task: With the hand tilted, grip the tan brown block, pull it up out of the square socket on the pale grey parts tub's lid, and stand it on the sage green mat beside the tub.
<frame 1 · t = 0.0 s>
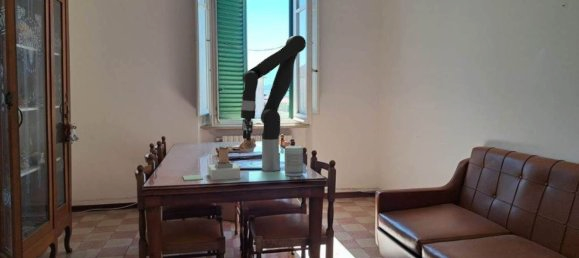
hand: (246, 139, 226), 17 cm above the table, tool pointing down, fingers open, 8 cm apart
sage mat: (192, 178, 211), on the table
supplement tub: (293, 175, 220), on the table
parts tub: (224, 176, 216), on the table
tan brown block: (223, 166, 215), point 5 cm above the table, touching parts tub
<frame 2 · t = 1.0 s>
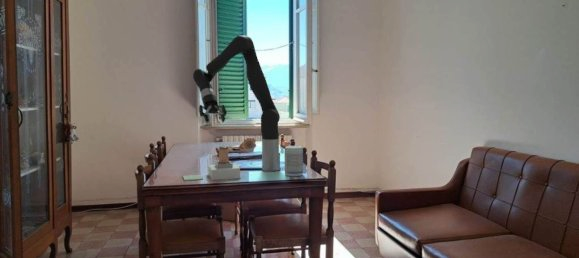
hand: (215, 121, 223), 27 cm above the table, tool tilted 45°, fingers open, 8 cm apart
nothing on the table moved.
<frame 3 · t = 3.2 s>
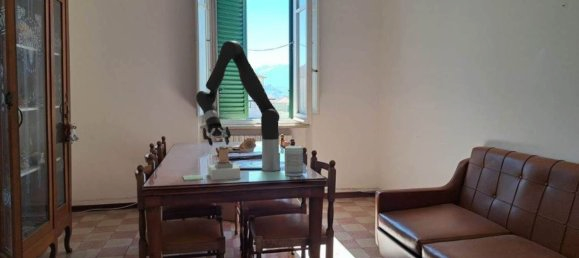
hand: (219, 144, 219), 16 cm above the table, tool tilted 45°, fingers open, 8 cm apart
nothing on the table moved.
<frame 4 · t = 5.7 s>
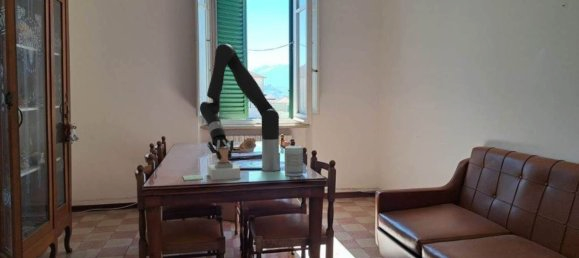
hand: (225, 158, 213), 10 cm above the table, tool tilted 45°, fingers closed on tan brown block, 4 cm apart
tan brown block: (223, 166, 215), point 5 cm above the table, touching gripper, parts tub
everything else where it was.
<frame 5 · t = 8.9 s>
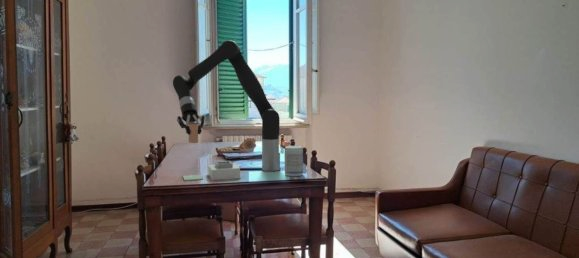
hand: (194, 133, 207), 23 cm above the table, tool tilted 45°, fingers closed on tan brown block, 4 cm apart
tan brown block: (193, 142, 209), point 18 cm above the table, touching gripper
everything else where it was.
when the fingers open (7 cm above the table, at t = 12.4 s): tan brown block drops 1 cm, resting on sage mat.
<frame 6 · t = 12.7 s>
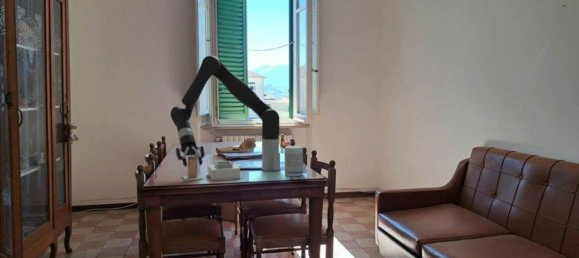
hand: (193, 164, 209), 7 cm above the table, tool tilted 45°, fingers open, 6 cm apart
tan brown block: (192, 176, 211), point 1 cm above the table, touching sage mat
everything else where it was.
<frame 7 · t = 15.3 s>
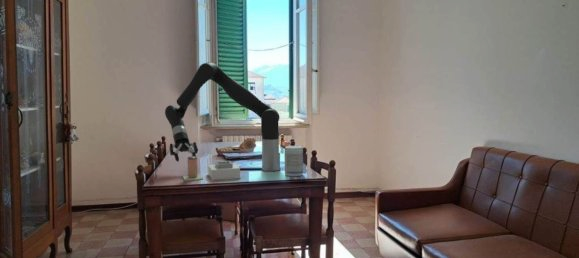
hand: (186, 160, 220), 7 cm above the table, tool tilted 45°, fingers open, 8 cm apart
nothing on the table moved.
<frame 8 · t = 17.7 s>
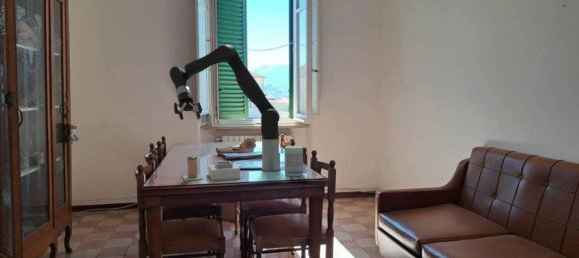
hand: (190, 118, 220), 29 cm above the table, tool tilted 45°, fingers open, 8 cm apart
nothing on the table moved.
at the end: tan brown block inside the target area on the sage mat (0.1 cm from its centre), point 0.6 cm above the sage mat's base; tan brown block tilted 1°; the gripper is holding nothing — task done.
